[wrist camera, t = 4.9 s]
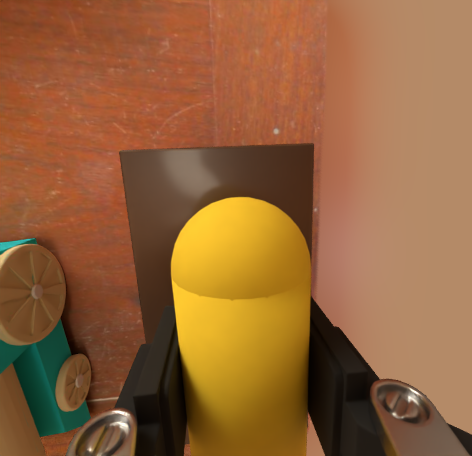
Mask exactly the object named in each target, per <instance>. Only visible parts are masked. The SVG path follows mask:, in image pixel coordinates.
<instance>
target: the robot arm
mask: <svg viewBox="0 0 472 456" xmlns="http://www.w3.org/2000/svg"><path fill="white" fill-rule="evenodd" d="M307 410H308V412H309V415H310V417H311V420H312V423H313V425H314V428H315V430H316V433H317V436H318V438H319V441H320V443H321V446H322V448H323V451H324V454H325V456H472V435H471V434H469V433H467V432H465V431H463V430H461V429H459V428H457V427H454V426H452V425H450V424H448V423H446V422H445V420H444V419H443V417H442V416H441V414H440V413H439V412H438V411H437V409H436V407H435V406H434V405H433V403H432V402H431V401H430V400H429V399H428V398H427V396H426V395H424V394H423V393H422V392H420V391H419V390H418V389H416V388H414V387H413V386H411V385H409V384H407V383H404V382H401V381H398V380H393V379H379V377H378V376H377V375H376V374H375V372H374V371H373V370H372V369H371V367H370V366H369V365H368V363H367V362H366V361H365V360H364V358H363V357H362V356H361V355H360V353H359V352H358V351H357V349H356V348H355V347H354V346H353V344H352V343H351V342H350V341H349V339H348V338H347V337H346V335H345V334H344V333H343V332H342V330H341V329H340V328H339V327H334V326H333V324H332V323H331V322H330V321H329V319H328V318H327V317H326V315H325V314H324V313H323V311H322V310H321V309H320V308H319V306H318V305H317V303H316V302H315V301H314V299H313V298H312V297H311V298H310V335H309V372H308V408H307ZM186 428H187V414H186V405H185V396H184V387H183V378H182V369H181V360H180V351H179V341H178V332H177V323H176V314H175V305H173V306H165V308H164V311H163V314H162V317H161V319H160V322H159V325H158V328H157V330H156V333H155V336H154V339H153V342H152V343H149V344H142V345H141V346H140V348H139V350H138V353H137V355H136V358H135V360H134V362H133V365H132V367H131V369H130V372H129V374H128V377H127V379H126V381H125V384H124V386H123V389H122V391H121V393H120V396H119V398H118V400H117V403H116V405H115V408H113V409H108V410H106V411H103V412H100V413H99V414H97V415H95V416H94V417H92V418H90V419H89V420H88V421H87V422H86V423H85V424H84V425H82V426H81V428H80V429H79V430H78V431H77V433H76V434H75V435H74V437H73V439H72V441H71V443H70V445H69V447H68V450H67V453H66V456H184V447H185V438H186Z"/></svg>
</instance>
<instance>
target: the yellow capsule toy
mask: <svg viewBox="0 0 472 456" xmlns="http://www.w3.org/2000/svg"><path fill="white" fill-rule="evenodd" d="M171 278H172V287H173V296H174V305H175V314H176V323H177V332H178V341H179V351H180V360H181V369H182V378H183V387H184V396H185V405H186V414H187V423H188V432H189V441H190V450H191V456H306V445H307V444H306V443H307V408H308V372H309V335H310V298H311V262H310V254H309V250H308V247H307V244H306V240H305V238H304V236H303V235H302V233H301V231H300V229H299V227H298V226H297V225H296V224H295V223H294V222H293V220H292V219H291V218H290V217H289V216H288V215H287V214H285V213H284V212H283V211H282V210H280V209H279V208H278V207H276V206H274V205H272V204H269V203H267V202H265V201H262V200H258V199H254V198H250V197H234V198H226V199H223V200H220V201H217V202H214V203H211V204H210V205H208V206H206V207H205V208H203V209H201V210H200V211H198V212H197V213H196V214H195V215H194V216H193V217H192V218H191V219H190V220H189V221H188V222H187V223H186V225H185V226H184V228H183V229H182V230H181V232H180V234H179V236H178V238H177V240H176V243H175V245H174V250H173V255H172V260H171Z"/></svg>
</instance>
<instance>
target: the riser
mask: <svg viewBox="0 0 472 456" xmlns="http://www.w3.org/2000/svg"><path fill="white" fill-rule="evenodd" d="M119 155H120V162H121V169H122V176H123V183H124V191H125V198H126V205H127V212H128V219H129V226H130V233H131V241H132V248H133V255H134V262H135V269H136V276H137V283H138V290H139V298H140V305H141V312H142V319H143V326H144V333H145V340H146V344H149V343H152V342H153V339H154V336H155V333H156V330H157V328H158V325H159V322H160V319H161V317H162V314H163V311H164V308H165V306H173V305H174V296H173V287H172V278H171V260H172V255H173V250H174V245H175V243H176V240H177V238H178V236H179V234H180V232H181V230H182V229H183V228H184V226H185V225H186V223H187V222H188V221H189V220H190V219H191V218H192V217H193V216H194V215H195V214H196V213H197V212H198V211H200V210H201V209H203V208H205V207H206V206H208V205H210V204H211V203H214V202H217V201H220V200H223V199H226V198H234V197H250V198H254V199H258V200H262V201H265V202H267V203H269V204H272V205H274V206H276V207H278V208H279V209H280V210H282V211H283V212H284V213H285V214H287V215H288V216H289V217H290V218H291V219H292V220H293V222H294V223H295V224H296V225H297V226H298V227H299V229H300V231H301V233H302V235H303V236H304V238H305V240H306V244H307V247H308V250H309V254H310V262H311V259H312V214H313V168H314V144H313V143H303V144H276V145H250V146H223V147H196V148H170V149H143V150H121V151H120V152H119ZM307 428H308V410H307ZM185 444H190V441H189V432H188V423H187V428H186V438H185Z"/></svg>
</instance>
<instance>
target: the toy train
mask: <svg viewBox="0 0 472 456" xmlns="http://www.w3.org/2000/svg"><path fill="white" fill-rule="evenodd" d="M65 298H66V283H65V278H64V273H63V270H62V268H61V265H60V263H59V262H58V260H57V259H56V257H55V256H54V255H53V254H52V253H51V252H50V251H49V250H48V249H46V248H44V247H42V246H40V245H38V244H37V241H36V238H32V239H25V240H17V241H10V242H2V243H0V456H46V453H45V450H44V447H43V444H42V442H41V439H40V437H42V436H48V435H53V434H58V433H64V432H67V431H70V430H73V429H75V428H78V427H81V426H82V425H84V424H85V423H86V422H87V421H88V420H89V419H90V418H91V417H90V413H89V410H88V407H87V404H86V400H85V398H86V396H87V393H88V390H89V387H90V381H91V367H90V363H89V360H88V358H87V357H86V356H85V355H83V354H76V355H71V352H70V348H69V345H68V342H67V339H66V335H65V332H64V329H63V325H62V322H61V319H60V317H61V315H62V312H63V309H64V304H65Z"/></svg>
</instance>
